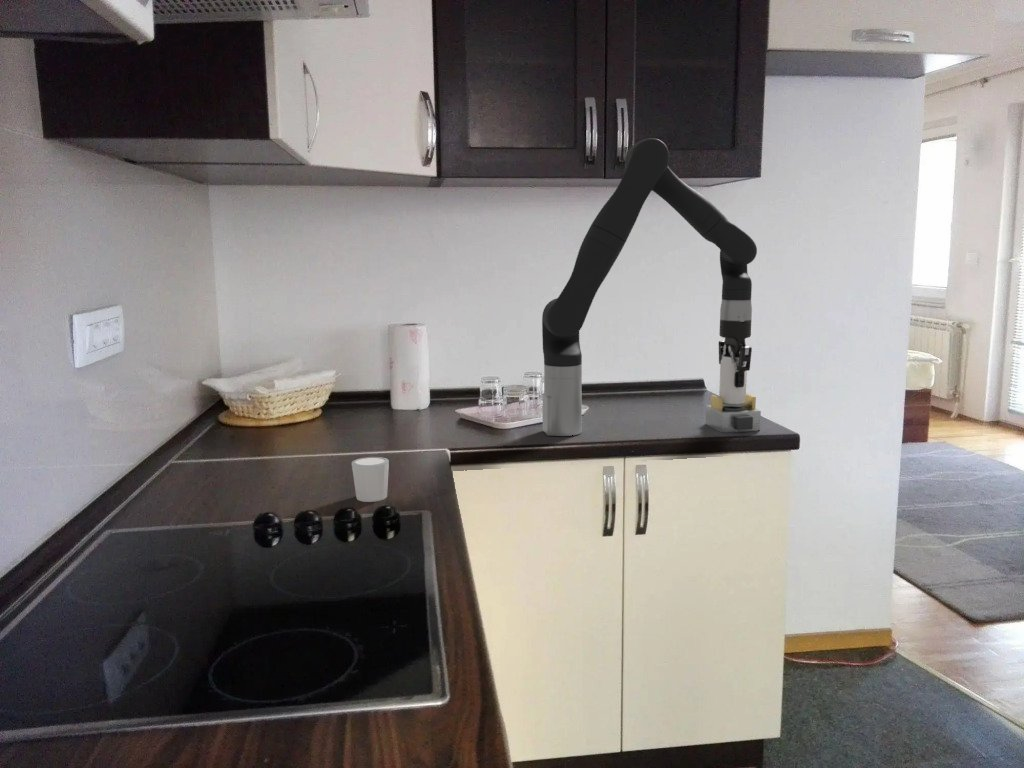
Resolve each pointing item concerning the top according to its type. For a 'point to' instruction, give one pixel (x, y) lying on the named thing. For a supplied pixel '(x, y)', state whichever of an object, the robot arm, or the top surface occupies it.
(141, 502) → the top surface
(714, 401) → the motor housing
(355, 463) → the light grey cup
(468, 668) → the top surface
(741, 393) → the can
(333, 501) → the top surface
